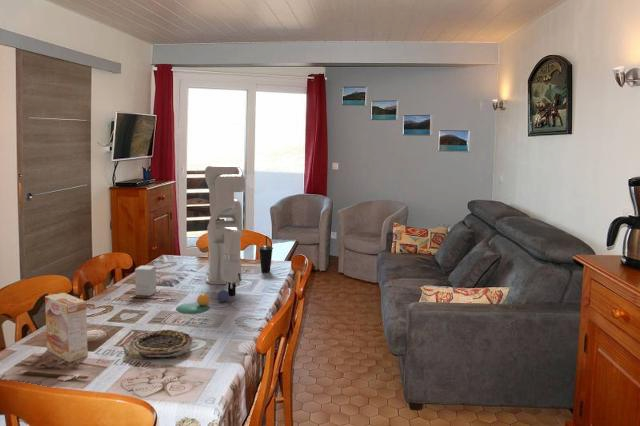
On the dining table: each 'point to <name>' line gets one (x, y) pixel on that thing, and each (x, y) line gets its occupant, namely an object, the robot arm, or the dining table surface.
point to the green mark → (192, 308)
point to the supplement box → (145, 280)
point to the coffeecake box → (66, 326)
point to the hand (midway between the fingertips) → (231, 295)
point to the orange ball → (203, 299)
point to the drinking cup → (265, 257)
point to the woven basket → (158, 345)
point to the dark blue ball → (223, 296)
